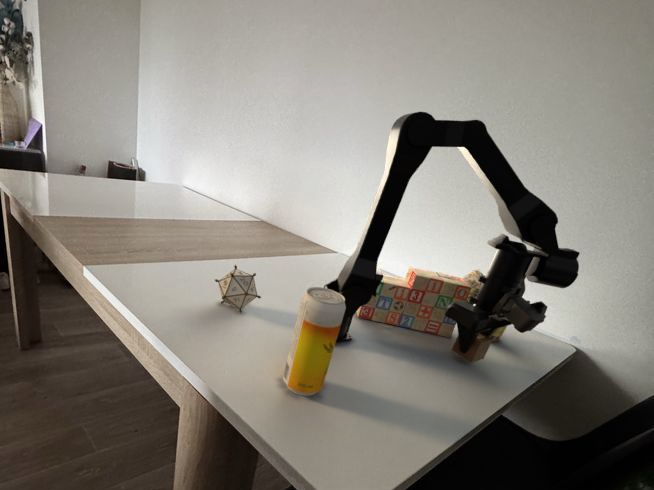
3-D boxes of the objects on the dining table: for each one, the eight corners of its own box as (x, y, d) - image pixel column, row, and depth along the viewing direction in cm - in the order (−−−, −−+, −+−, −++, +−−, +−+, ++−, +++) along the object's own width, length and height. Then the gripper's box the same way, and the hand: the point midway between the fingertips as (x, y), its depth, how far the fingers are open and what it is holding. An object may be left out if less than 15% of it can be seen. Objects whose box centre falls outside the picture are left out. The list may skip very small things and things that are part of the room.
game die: (241, 322, 82) (277, 293, 79) (219, 320, 74) (257, 288, 71) (221, 289, 85) (255, 259, 81) (197, 283, 77) (233, 251, 74)
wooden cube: (450, 350, 77) (460, 330, 75) (463, 347, 80) (472, 327, 78) (471, 362, 74) (481, 342, 72) (483, 359, 77) (493, 338, 75)
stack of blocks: (357, 318, 87) (373, 265, 81) (354, 307, 92) (369, 257, 87) (450, 337, 87) (473, 286, 82) (442, 325, 93) (462, 277, 87)
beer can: (327, 397, 58) (355, 305, 51) (289, 398, 56) (313, 303, 49) (313, 373, 63) (336, 287, 56) (277, 373, 61) (297, 284, 54)
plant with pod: (466, 311, 106) (498, 239, 97) (486, 330, 96) (524, 251, 87) (437, 305, 105) (467, 232, 96) (455, 324, 95) (490, 244, 86)
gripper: (525, 298, 59) (482, 383, 66) (572, 291, 70) (531, 364, 76) (460, 271, 67) (428, 349, 73) (512, 268, 77) (479, 337, 84)
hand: (469, 350), depth 77 cm, fingers closed on wooden cube, 4 cm apart
